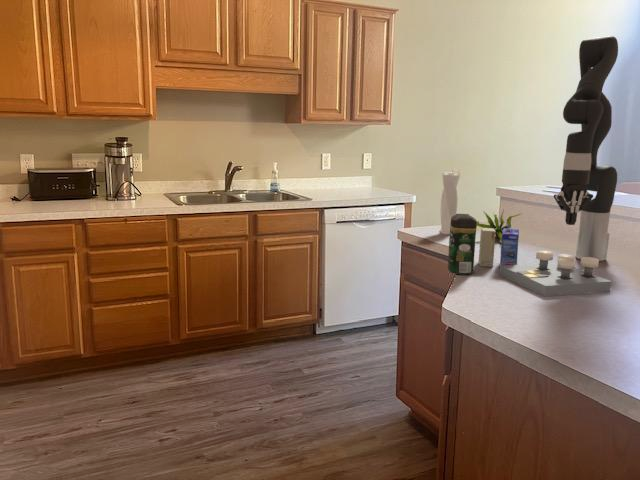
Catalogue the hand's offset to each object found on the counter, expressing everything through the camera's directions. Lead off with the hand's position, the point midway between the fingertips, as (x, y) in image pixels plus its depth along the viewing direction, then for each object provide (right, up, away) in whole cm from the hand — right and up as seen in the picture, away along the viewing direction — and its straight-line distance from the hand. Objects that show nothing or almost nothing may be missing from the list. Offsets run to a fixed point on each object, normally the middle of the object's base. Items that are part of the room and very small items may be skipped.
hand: (570, 224), depth 171 cm
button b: (+3, -15, -6) cm, 17 cm away
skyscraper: (-22, -2, +69) cm, 72 cm away
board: (-7, -18, -3) cm, 19 cm away
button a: (0, -15, +4) cm, 15 cm away
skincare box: (-21, -13, +17) cm, 30 cm away
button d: (-5, -16, -8) cm, 18 cm away
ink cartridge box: (-14, -14, +15) cm, 25 cm away
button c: (-8, -13, +1) cm, 16 cm away
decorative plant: (-5, -7, +50) cm, 51 cm away
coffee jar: (-32, -15, +8) cm, 36 cm away
